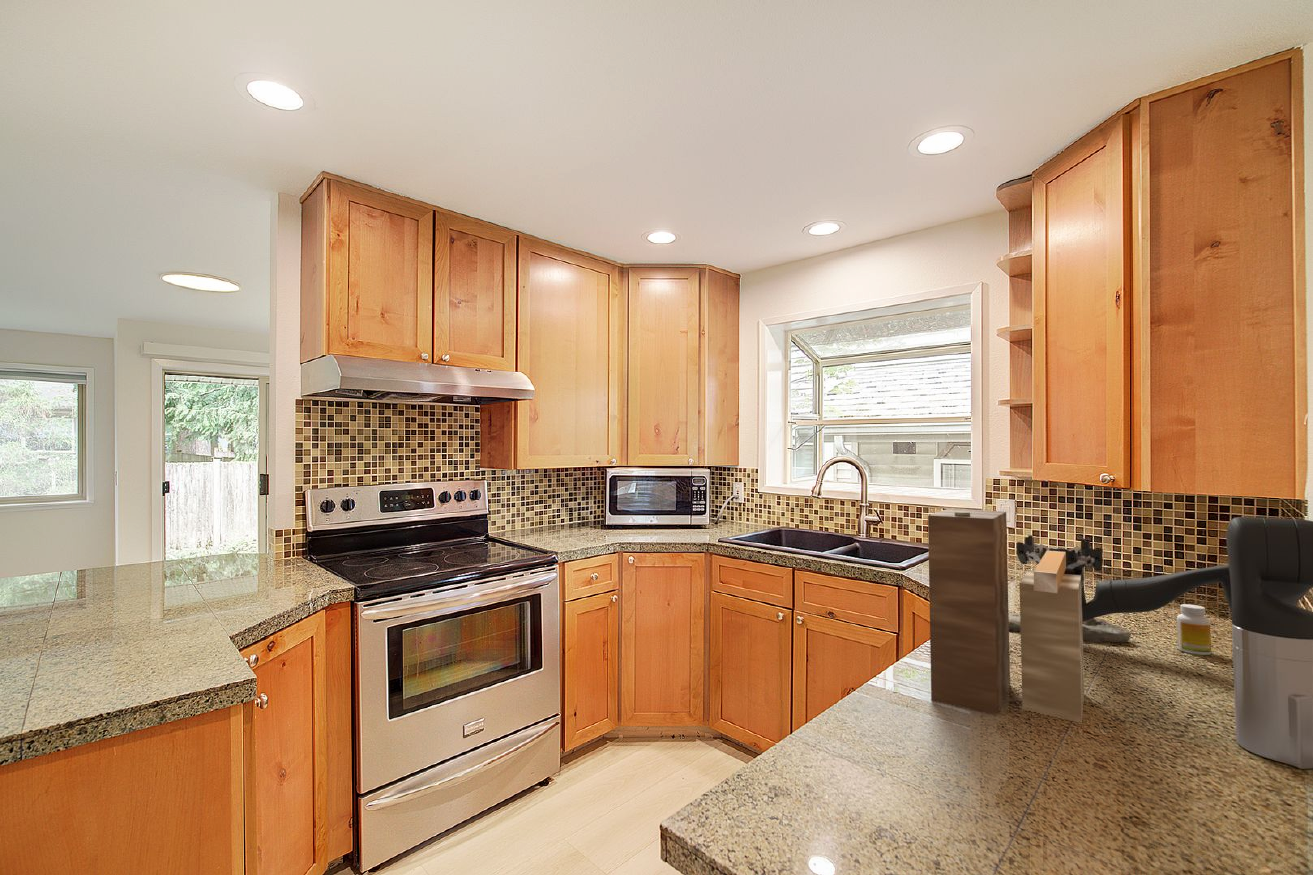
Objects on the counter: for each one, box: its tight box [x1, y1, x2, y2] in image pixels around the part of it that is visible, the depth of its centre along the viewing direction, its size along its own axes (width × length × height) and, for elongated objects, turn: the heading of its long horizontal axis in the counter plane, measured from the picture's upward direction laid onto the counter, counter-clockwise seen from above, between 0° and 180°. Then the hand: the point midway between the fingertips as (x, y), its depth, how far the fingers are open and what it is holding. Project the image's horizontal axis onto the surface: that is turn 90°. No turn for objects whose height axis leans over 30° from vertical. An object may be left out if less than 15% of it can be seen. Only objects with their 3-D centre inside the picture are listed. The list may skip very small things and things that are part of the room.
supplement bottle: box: [1176, 603, 1212, 656], centre depth 127 cm, size 5×5×10 cm
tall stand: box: [927, 508, 1011, 716], centre depth 106 cm, size 16×10×33 cm, turn 143°
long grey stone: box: [1009, 612, 1131, 643], centre depth 143 cm, size 35×5×10 cm
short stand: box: [1019, 569, 1085, 724], centre depth 102 cm, size 14×8×21 cm, turn 143°
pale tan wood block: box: [1033, 551, 1066, 593], centre depth 103 cm, size 26×3×3 cm, turn 143°
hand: (1056, 541), depth 114 cm, fingers open, 8 cm apart
